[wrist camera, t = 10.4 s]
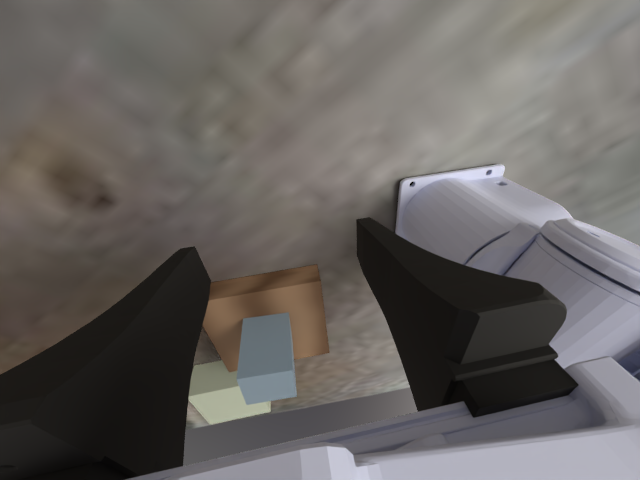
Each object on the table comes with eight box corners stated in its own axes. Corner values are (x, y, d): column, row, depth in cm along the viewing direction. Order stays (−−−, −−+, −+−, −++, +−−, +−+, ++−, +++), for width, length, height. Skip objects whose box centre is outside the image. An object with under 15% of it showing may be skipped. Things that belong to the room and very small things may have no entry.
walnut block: (316, 261, 27) (320, 280, 24) (325, 331, 33) (329, 352, 31) (198, 280, 26) (190, 303, 23) (232, 349, 33) (229, 372, 30)
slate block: (288, 312, 26) (292, 370, 21) (292, 339, 28) (296, 396, 24) (243, 318, 25) (236, 379, 20) (250, 345, 28) (246, 405, 23)
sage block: (257, 351, 33) (256, 382, 30) (270, 381, 38) (270, 411, 34) (194, 363, 33) (186, 397, 29) (215, 393, 37) (210, 424, 34)
